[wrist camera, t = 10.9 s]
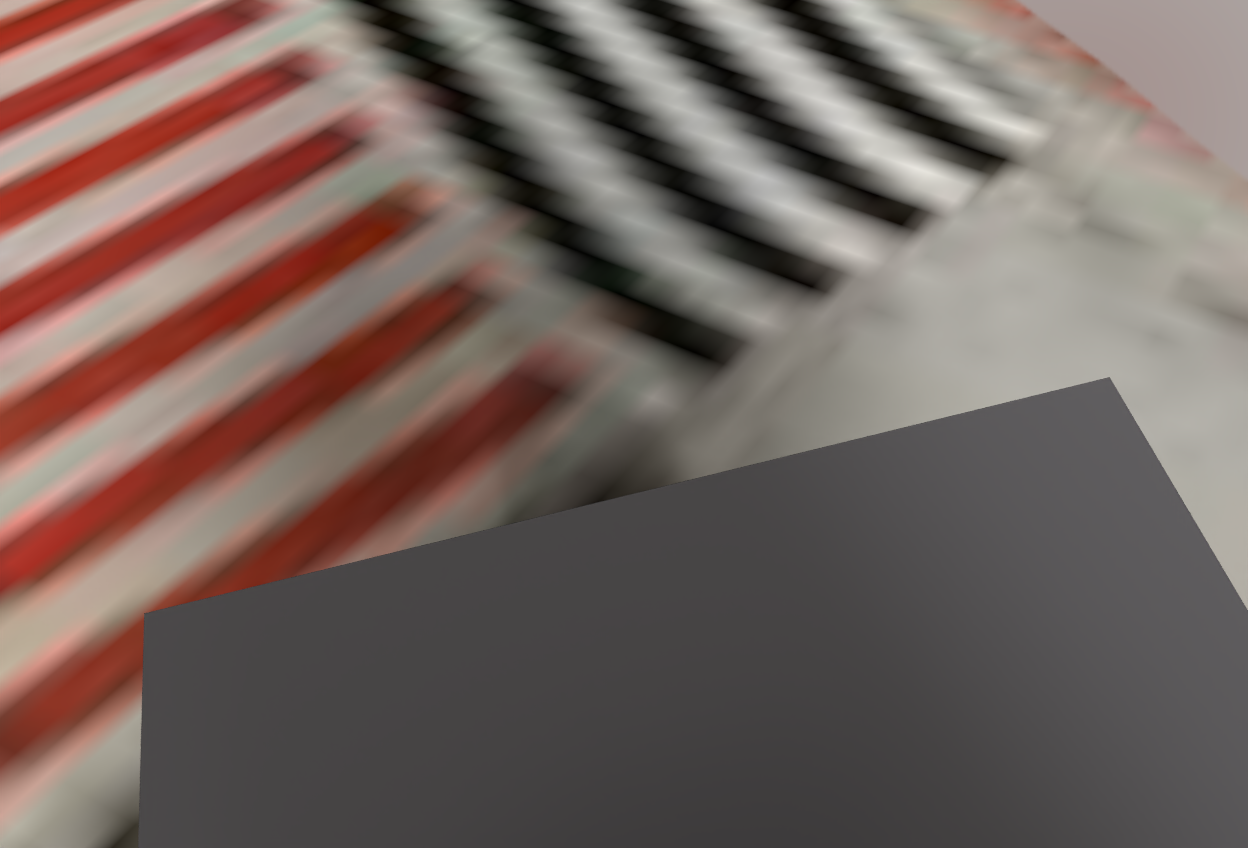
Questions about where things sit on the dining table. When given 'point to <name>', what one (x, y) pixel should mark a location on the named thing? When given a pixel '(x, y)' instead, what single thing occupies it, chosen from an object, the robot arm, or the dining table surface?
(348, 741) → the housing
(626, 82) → the dining table surface
